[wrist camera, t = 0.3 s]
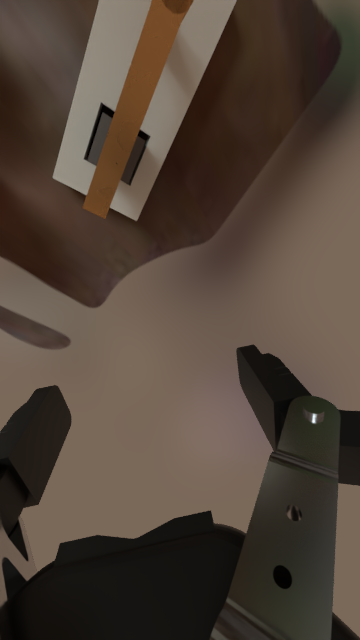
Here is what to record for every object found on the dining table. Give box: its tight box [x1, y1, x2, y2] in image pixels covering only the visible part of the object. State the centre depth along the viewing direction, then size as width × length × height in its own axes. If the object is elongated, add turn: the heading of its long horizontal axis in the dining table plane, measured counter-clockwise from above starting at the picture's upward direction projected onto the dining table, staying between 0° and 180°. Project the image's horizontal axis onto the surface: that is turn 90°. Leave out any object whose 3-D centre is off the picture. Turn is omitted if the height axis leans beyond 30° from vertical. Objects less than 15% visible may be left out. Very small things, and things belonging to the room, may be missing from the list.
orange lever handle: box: [83, 0, 194, 219], centre depth 22 cm, size 2×16×9 cm, turn 150°
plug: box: [87, 113, 145, 184], centre depth 26 cm, size 4×4×8 cm
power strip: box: [53, 0, 237, 221], centre depth 25 cm, size 10×22×4 cm, turn 150°
